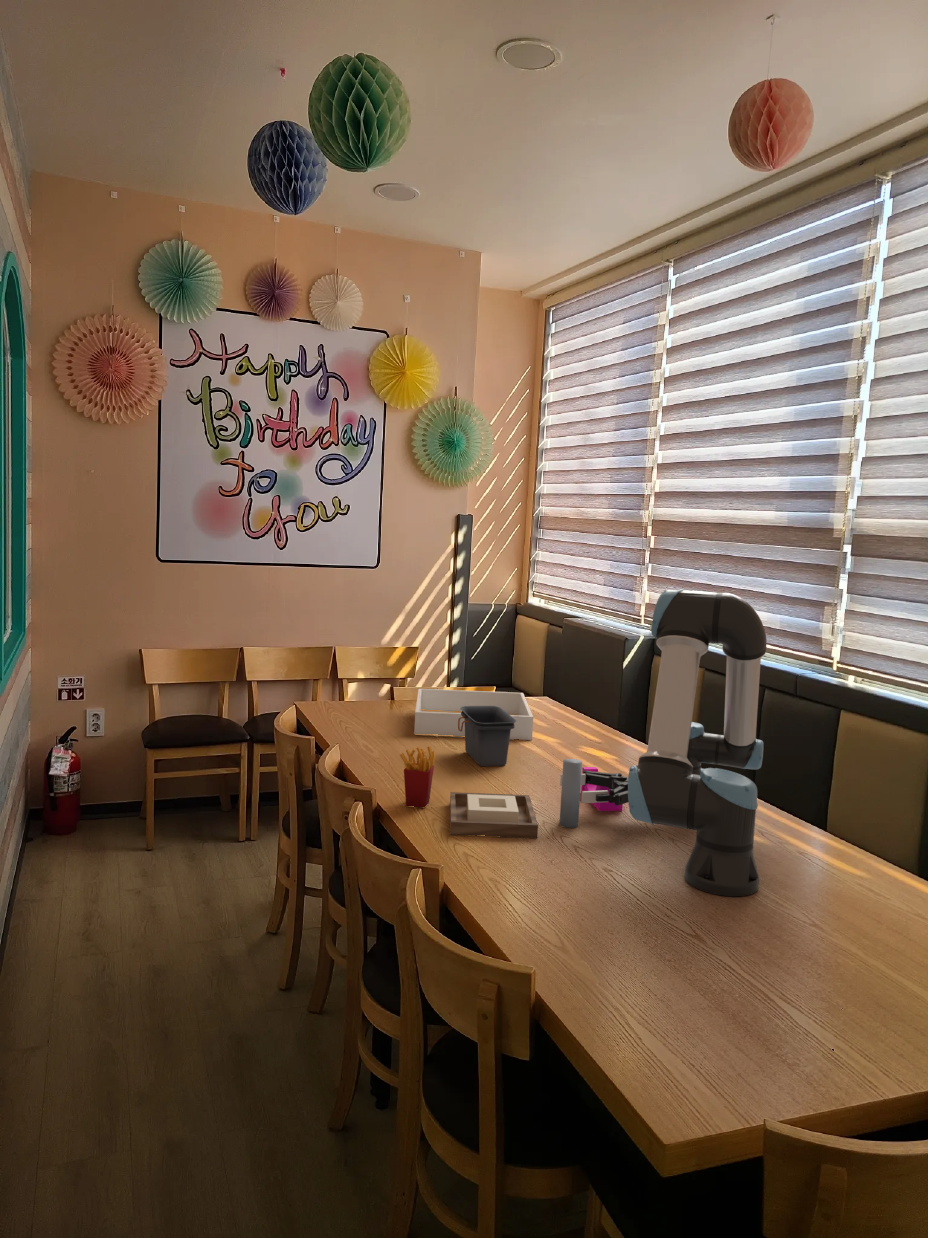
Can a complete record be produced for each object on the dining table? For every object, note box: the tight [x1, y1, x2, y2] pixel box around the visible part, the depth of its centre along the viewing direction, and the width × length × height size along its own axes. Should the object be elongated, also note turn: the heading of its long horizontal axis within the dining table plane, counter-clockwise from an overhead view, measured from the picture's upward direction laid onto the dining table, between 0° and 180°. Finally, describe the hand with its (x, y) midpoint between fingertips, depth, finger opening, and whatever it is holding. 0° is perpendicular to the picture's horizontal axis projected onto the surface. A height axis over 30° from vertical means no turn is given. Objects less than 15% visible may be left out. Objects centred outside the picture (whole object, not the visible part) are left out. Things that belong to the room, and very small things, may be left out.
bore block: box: [467, 794, 519, 823], centre depth 223 cm, size 12×12×4 cm
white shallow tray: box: [413, 688, 534, 741], centre depth 322 cm, size 39×39×8 cm
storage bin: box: [458, 706, 516, 767], centre depth 277 cm, size 21×16×14 cm
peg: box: [559, 758, 583, 829], centre depth 222 cm, size 5×5×16 cm
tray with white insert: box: [449, 791, 539, 839], centre depth 223 cm, size 22×20×3 cm
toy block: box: [580, 766, 624, 812], centre depth 242 cm, size 15×6×8 cm, turn 11°
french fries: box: [399, 746, 436, 808], centre depth 233 cm, size 9×8×15 cm
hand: (571, 788), depth 223 cm, fingers open, 13 cm apart
